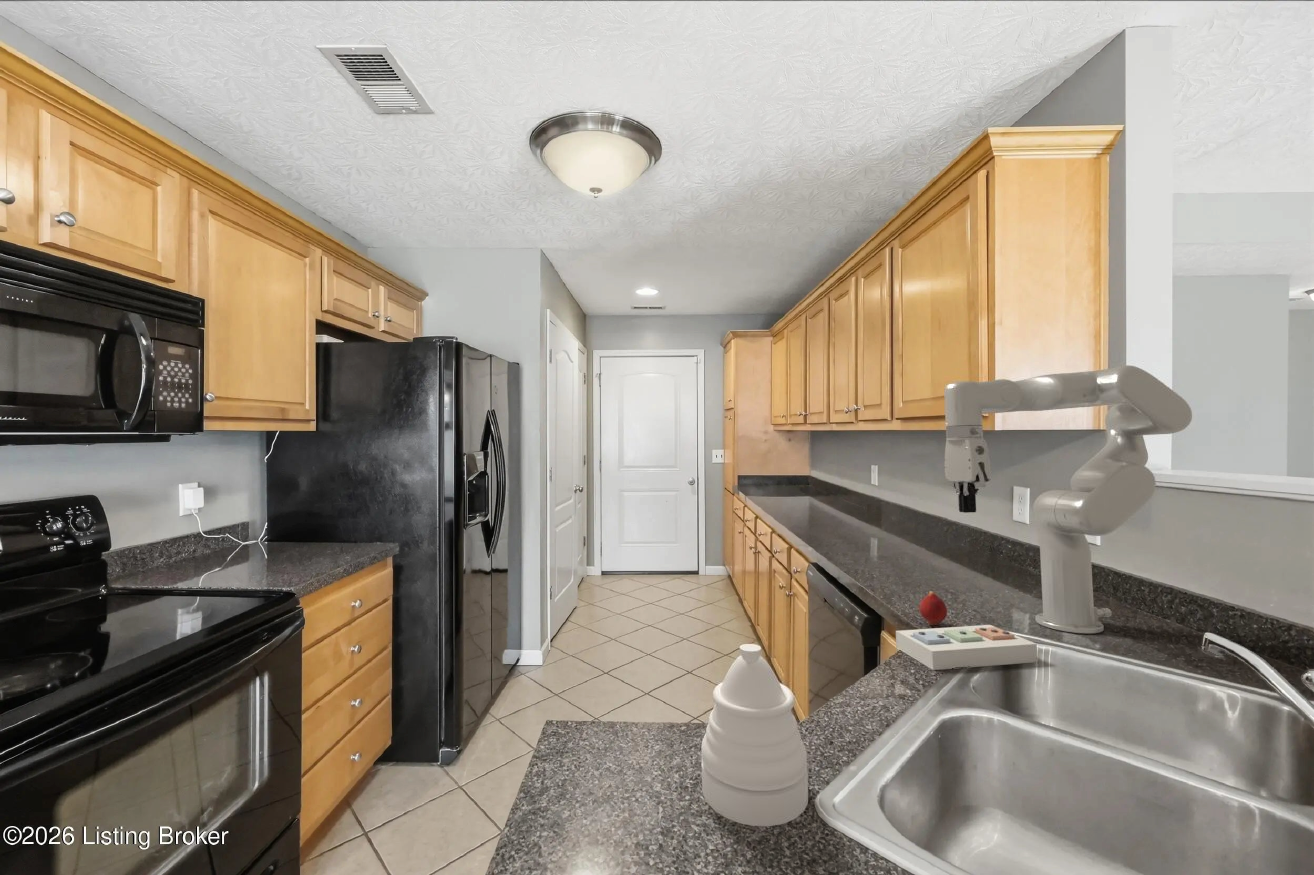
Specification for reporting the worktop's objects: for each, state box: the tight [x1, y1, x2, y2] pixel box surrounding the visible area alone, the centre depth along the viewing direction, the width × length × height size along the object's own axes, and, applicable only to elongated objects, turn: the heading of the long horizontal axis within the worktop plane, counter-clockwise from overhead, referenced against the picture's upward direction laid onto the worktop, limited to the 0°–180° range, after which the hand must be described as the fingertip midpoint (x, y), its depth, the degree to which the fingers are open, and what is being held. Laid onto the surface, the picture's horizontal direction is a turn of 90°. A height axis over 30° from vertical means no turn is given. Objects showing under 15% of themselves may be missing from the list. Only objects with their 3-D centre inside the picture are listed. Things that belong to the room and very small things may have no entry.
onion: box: [919, 590, 948, 626], centre depth 125 cm, size 6×6×8 cm
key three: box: [975, 626, 1015, 641], centre depth 108 cm, size 5×5×3 cm
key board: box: [895, 624, 1038, 671], centre depth 107 cm, size 22×12×4 cm, turn 97°
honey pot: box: [700, 643, 809, 827], centre depth 65 cm, size 13×13×18 cm
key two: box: [913, 631, 950, 645], centre depth 106 cm, size 5×5×3 cm
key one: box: [944, 629, 983, 643], centre depth 107 cm, size 5×5×3 cm
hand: (967, 511), depth 123 cm, fingers closed
